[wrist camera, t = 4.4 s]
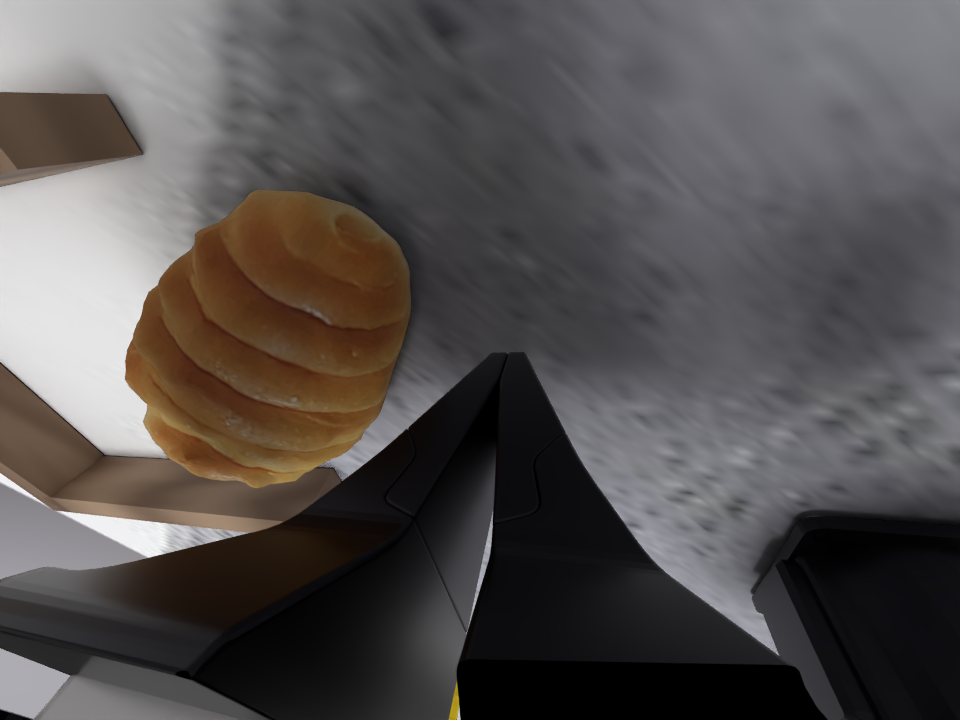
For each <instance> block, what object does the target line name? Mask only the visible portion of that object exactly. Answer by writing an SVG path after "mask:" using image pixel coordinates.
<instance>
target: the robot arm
mask: <svg viewBox="0 0 960 720" xmlns="http://www.w3.org/2000/svg"><path fill="white" fill-rule="evenodd" d="M408 429H409V430H408ZM408 429H406V430H405V431H404V432H403V433H401V434H400V435H399V436H398V437H397V438H396V439H395V440H394V441H392V442H391V443H390V444H389V445H388V446H387V447H385V448H384V449H383V450H382V451H381V452H379V453H378V454H377V455H376V456H374V457H373V458H372V459H371V460H369V461H368V462H367V463H366V464H364V465H363V466H362V467H360V468H359V469H358V470H357V471H355V472H354V473H353V474H351V475H350V476H348V477H347V478H346V479H344V480H343V481H342V482H340V483H339V484H338V485H336V486H335V487H334V488H332V489H331V490H330V491H328V492H327V493H326V494H324V495H323V496H322V497H320V498H319V499H318V500H316V501H315V502H314V503H312V504H311V505H310V506H308V507H307V508H306V509H304V510H303V511H301V512H300V513H298V514H297V515H295V516H293V517H292V518H290V519H288V520H286V521H284V522H282V523H280V524H278V525H275V526H272V527H270V528H267V529H263V530H260V531H256V532H252V533H248V534H244V535H240V536H236V537H231V538H227V539H223V540H219V541H215V542H211V543H207V544H203V545H199V546H195V547H191V548H187V549H183V550H179V551H175V552H170V553H166V554H162V555H158V556H154V557H150V558H146V559H142V560H138V561H134V562H129V563H124V564H120V565H115V566H109V567H103V568H98V569H88V570H68V569H62V568H56V567H42V568H38V569H35V570H31V571H27V572H24V573H20V574H17V575H13V576H10V577H6V578H3V579H1V580H0V648H1V649H4V650H6V651H9V652H12V653H14V654H17V655H19V656H22V657H24V658H27V659H29V660H32V661H35V662H37V663H40V664H42V665H45V666H47V667H50V668H53V669H55V670H58V671H60V672H63V673H65V674H68V675H70V677H69V678H68V679H67V681H66V682H65V683H64V684H63V685H62V686H61V688H60V689H59V690H58V691H57V692H56V693H55V695H54V696H53V697H52V698H51V699H50V700H49V702H48V703H47V704H46V705H45V706H44V708H43V709H42V710H41V711H40V712H39V713H38V715H37V716H36V717H35V718H34V719H32V718H29V717H26V716H22V715H19V714H15V713H13V712H9V711H6V710H2V709H0V720H449V716H450V711H451V706H452V702H453V697H454V692H455V687H456V683H457V687H458V697H459V707H460V717H461V720H960V526H953V525H938V524H924V523H909V522H894V521H880V520H865V519H850V518H836V517H821V516H818V517H809V518H805V519H803V520H800V521H799V522H798V523H797V524H796V526H795V527H794V529H793V531H792V532H791V534H790V536H789V537H788V539H787V540H786V542H785V544H784V545H783V547H782V549H781V550H780V552H779V554H778V555H777V557H776V559H775V560H774V562H773V563H772V565H771V567H770V568H769V570H768V572H767V573H766V575H765V577H764V578H763V580H762V582H761V583H760V585H759V586H758V588H757V590H756V591H755V593H754V595H753V596H752V601H753V603H754V606H755V609H756V610H757V611H758V612H759V613H761V614H763V615H764V618H765V620H766V623H767V625H768V628H769V630H770V633H771V635H772V638H773V640H774V643H775V646H776V648H777V651H778V653H779V656H778V655H777V654H776V653H774V652H773V651H772V650H770V649H769V648H767V647H766V646H765V645H763V644H762V643H761V642H759V641H758V640H757V639H755V638H754V637H752V636H751V635H750V634H748V633H747V632H746V631H744V630H743V629H742V628H740V627H739V626H738V625H736V624H735V623H733V622H732V621H731V620H729V619H728V618H727V617H725V616H724V615H723V614H721V613H720V612H718V611H717V610H716V609H714V608H713V607H712V606H710V605H709V604H708V603H706V602H705V601H703V600H702V599H701V598H699V597H698V596H697V595H695V594H694V593H693V592H691V591H690V590H688V589H687V588H686V587H684V586H683V585H682V584H680V583H679V582H678V581H676V580H675V579H673V578H672V577H671V576H670V575H668V574H667V573H666V572H665V571H664V570H663V569H661V568H660V567H659V566H658V565H657V564H656V563H655V562H654V561H653V560H652V559H651V557H650V556H649V555H648V554H647V553H646V551H645V550H644V549H643V548H642V547H641V545H640V544H639V543H638V541H637V540H636V539H635V537H634V536H633V535H632V533H631V532H630V530H629V529H628V528H627V526H626V525H625V523H624V522H623V521H622V519H621V518H620V516H619V515H618V514H617V512H616V511H615V510H614V508H613V507H612V505H611V504H610V503H609V501H608V500H607V498H606V497H605V496H604V494H603V493H602V491H601V490H600V489H599V487H598V486H597V484H596V483H595V482H594V480H593V479H592V477H591V476H590V474H589V473H588V471H587V470H586V468H585V467H584V465H583V463H582V462H581V460H580V458H579V456H578V455H577V453H576V451H575V449H574V447H573V446H572V444H571V442H570V440H569V438H568V436H567V434H566V433H565V430H564V428H563V426H562V424H561V422H560V420H559V418H558V416H557V415H556V413H555V411H554V409H553V407H552V405H551V403H550V401H549V399H548V397H547V395H546V393H545V391H544V389H543V387H542V385H541V383H540V381H539V379H538V377H537V375H536V373H535V371H534V369H533V367H532V365H531V363H530V361H529V359H528V357H527V355H526V354H525V353H524V352H510V353H509V354H507V353H506V352H500V353H491V354H490V355H489V356H488V357H487V358H485V359H484V360H483V361H482V362H481V363H480V364H479V365H478V366H477V367H475V368H474V369H473V370H472V371H471V372H470V373H469V374H468V375H466V376H465V377H464V378H463V379H462V380H461V381H460V382H459V383H458V384H456V385H455V386H454V387H453V388H452V389H451V390H450V391H449V392H447V393H446V394H445V395H444V396H443V397H442V398H441V399H440V400H439V401H437V402H436V403H435V404H434V405H433V406H432V407H431V408H430V409H428V410H427V411H426V412H425V413H424V414H423V415H422V416H421V417H420V418H418V419H417V420H416V421H415V422H414V423H413V424H412V425H411V426H409V428H408ZM493 507H494V508H493ZM492 512H493V531H492V544H491V552H490V558H489V562H488V565H487V568H486V572H485V575H484V578H483V582H482V585H481V588H480V592H479V595H478V598H477V602H476V605H475V608H474V612H473V615H472V619H471V622H470V625H469V621H470V616H471V611H472V607H473V602H474V597H475V592H476V588H477V583H478V578H479V573H480V569H481V564H482V559H483V555H484V550H485V545H486V540H487V536H488V531H489V526H490V521H491V517H492ZM468 625H469V629H468ZM467 630H468V632H467ZM466 632H467V635H466Z"/></svg>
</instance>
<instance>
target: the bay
mask: <svg viewBox="0 0 960 720" xmlns="http://www.w3.org/2000/svg"><path fill="white" fill-rule="evenodd" d="M139 155H143V154H142V153H141V151H140V149H139V148H138V146H137V145H136V143H135V141H134V140H133V138H132V136H131V135H130V133H129V131H128V130H127V128H126V126H125V125H124V123H123V121H122V120H121V118H120V117H119V115H118V113H117V112H116V110H115V108H114V107H113V105H112V103H111V102H110V100H109V98H108V97H107V95H106V94H60V93H13V92H0V187H2V186H6V185H10V184H15V183H19V182H24V181H28V180H33V179H37V178H42V177H46V176H50V175H55V174H59V173H64V172H68V171H73V170H77V169H81V168H86V167H90V166H95V165H99V164H104V163H108V162H113V161H117V160H121V159H126V158H130V157H135V156H139ZM0 473H1V474H3V475H4V476H6V477H7V478H8V479H10V480H11V481H13V482H14V483H16V484H17V485H18V486H20V487H21V488H23V489H24V490H26V491H27V492H29V493H30V494H31V495H33V496H34V497H36V498H37V499H39V500H40V501H41V502H43V503H44V504H46V505H47V506H49V507H50V508H51V509H53V510H56V511H65V512H73V513H82V514H91V515H99V516H108V517H117V518H125V519H134V520H143V521H152V522H160V523H169V524H178V525H186V526H195V527H204V528H212V529H221V530H230V531H238V532H247V533H252V532H256V531H260V530H263V529H267V528H270V527H272V526H275V525H278V524H280V523H282V522H284V521H286V520H288V519H290V518H292V517H293V516H295V515H297V514H298V513H300V512H301V511H303V510H304V509H306V508H307V507H308V506H310V505H311V504H312V503H314V502H315V501H316V500H318V499H319V498H320V497H322V496H323V495H324V494H326V493H327V492H328V491H330V490H331V489H332V488H334V487H335V486H336V485H338V484H339V483H340V482H341V481H340V479H339V477H338V476H337V474H336V472H335V471H334V469H327V468H314V469H313V470H311V471H310V472H306V473H304V474H303V475H302V476H301V477H300V478H298V479H297V480H296V481H291V482H284V483H276V484H269V485H267V486H265V487H260V488H254V487H251V486H249V485H248V484H246V483H244V482H241V481H237V480H230V481H221V480H213V479H208V478H205V477H199V476H197V475H195V474H193V473H191V472H189V471H188V470H187V469H186V468H184V467H183V466H182V465H180V464H178V463H176V462H174V461H172V460H169V459H151V458H133V457H116V456H104V455H103V454H102V453H101V452H100V451H98V450H97V449H96V448H95V447H94V446H93V445H92V444H90V443H89V442H88V441H87V440H86V439H85V438H84V437H83V436H81V435H80V434H79V433H78V432H77V431H76V430H75V429H74V428H72V427H71V426H70V425H69V424H68V423H67V422H66V421H64V420H63V419H62V418H61V417H60V416H59V415H58V414H57V413H55V412H54V411H53V410H52V409H51V408H50V407H49V406H47V405H46V404H45V403H44V402H43V401H42V400H41V399H40V398H38V397H37V396H36V395H35V394H34V393H33V392H32V391H31V390H29V389H28V388H27V387H26V386H25V385H24V384H23V383H21V382H20V381H19V380H18V379H17V378H16V377H15V376H14V375H12V374H11V373H10V372H9V371H8V370H7V369H6V368H4V367H3V366H2V365H1V364H0Z"/></svg>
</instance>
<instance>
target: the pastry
mask: <svg viewBox="0 0 960 720" xmlns="http://www.w3.org/2000/svg"><path fill="white" fill-rule="evenodd" d="M410 313H411V295H410V270H409V266H408V263H407V260H406V258H405V256H404V254H403V252H402V250H401V248H400V246H399V244H398V243H397V242H396V241H395V239H393V238H392V237H391V236H390V235H389V234H388V233H386V232H385V231H384V230H383V229H382V228H381V227H380V226H379V225H378V224H377V223H376V222H375V221H373V220H372V219H371V218H370V217H368V216H367V215H366V214H364V213H363V212H361V211H360V210H358V209H357V208H355V207H353V206H350V205H348V204H345V203H342V202H338V201H334V200H331V199H327V198H324V197H321V196H318V195H315V194H312V193H309V192H299V191H276V190H255V191H253V192H251V193H250V194H249V195H248V197H247V198H246V199H245V200H244V201H243V202H242V203H241V204H240V205H238V206H237V207H236V208H235V209H234V210H233V211H232V212H231V213H230V214H229V216H227V217H226V218H224V219H223V220H222V221H220V222H219V223H216V224H214V225H212V226H209V227H207V228H205V229H202V230H200V231H199V232H197V233H196V234H195V244H194V246H193V248H192V249H191V250H190V251H189V252H187V253H186V254H185V255H183V256H182V257H180V258H179V259H177V260H176V261H175V262H174V263H173V264H172V265H171V266H170V267H169V268H168V269H167V271H166V272H165V273H164V274H163V276H162V277H161V278H160V280H159V283H158V285H157V286H156V287H155V288H153V289H152V290H151V291H150V292H149V293H148V295H147V297H146V299H145V302H144V305H143V311H142V315H141V318H140V320H139V322H138V323H137V325H136V328H135V331H134V334H133V339H132V341H131V343H130V345H129V347H128V349H127V355H126V360H125V363H126V374H125V380H126V382H127V383H128V385H129V387H130V388H131V389H132V390H133V391H134V392H135V393H136V394H137V395H138V396H139V397H140V398H141V399H142V400H143V401H144V402H145V403H147V412H146V415H145V418H144V420H143V423H144V425H145V428H146V429H147V430H148V432H149V433H150V435H151V437H152V439H153V440H154V442H155V443H156V444H157V445H158V446H159V447H160V448H161V449H162V450H163V451H164V453H165V455H166V456H167V457H168V458H169V459H171V460H172V461H174V462H176V463H178V464H180V465H182V466H183V467H184V468H186V469H187V470H188V471H189V472H191V473H193V474H195V475H197V476H199V477H205V478H208V479H213V480H221V481H230V480H237V481H241V482H244V483H246V484H248V485H249V486H251V487H254V488H260V487H265V486H267V485H269V484H276V483H284V482H291V481H296V480H297V479H298V478H300V477H301V476H302V475H303V474H304V473H306V472H310V471H311V470H313V469H314V468H316V467H318V466H319V465H321V464H323V463H324V462H326V461H328V460H330V459H332V458H335V457H338V456H340V455H341V454H343V453H345V452H347V451H348V450H349V449H351V448H352V447H353V445H354V444H356V443H357V442H358V441H359V440H361V438H362V436H363V433H364V431H365V430H366V429H367V428H368V427H369V425H370V424H371V423H372V422H373V421H374V420H375V419H376V418H377V417H378V415H379V413H380V411H381V408H382V405H383V403H384V399H385V396H386V392H387V389H388V386H389V383H390V379H391V376H392V372H393V369H394V365H395V363H396V361H397V359H398V355H399V351H400V349H401V347H402V344H403V341H404V337H405V333H406V329H407V326H408V323H409V318H410Z"/></svg>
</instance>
